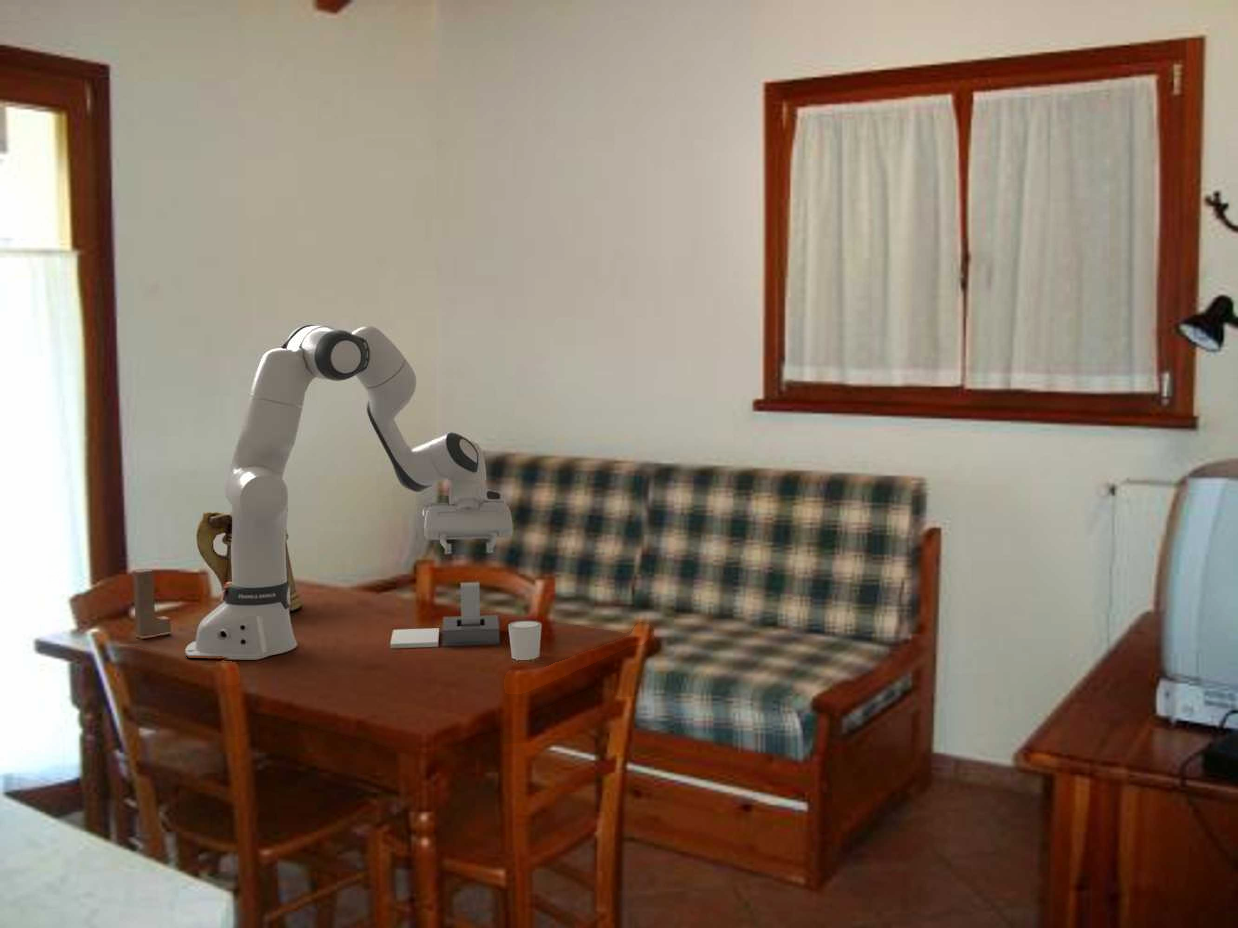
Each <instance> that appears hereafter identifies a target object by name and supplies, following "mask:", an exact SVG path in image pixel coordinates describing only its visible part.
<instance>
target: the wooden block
mask: <svg viewBox="0 0 1238 928" xmlns="http://www.w3.org/2000/svg"><path fill="white" fill-rule="evenodd" d="M153 572H154V571H153V570H152V569H150V568H147V567H146V568H141V569H140V568H139V569H134V570H132V580H133V581H132V582H133V597H134V600H133V601H134V616H135V617H134V619H135V634H136V633H137V634H138V635H139V636H149V635H156V634H160V633H165V632H172V631H171V619H170V617H167V616H165V615H163V616H157V615H156V611H155V609H156V607H155V591H154V587H155V586H154V573H153Z"/></svg>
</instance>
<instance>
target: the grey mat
mask: <svg viewBox="0 0 1238 928" xmlns="http://www.w3.org/2000/svg"><path fill="white" fill-rule="evenodd" d="M391 634H392V635H391V640H390V643H389V644H390V649H407V648H410V649H411V648H413V649H414V648H438V647H439V637H440V628H439V627H438V628H434V627H433V628H407V629H406V628H404V629H393V630H392V633H391Z"/></svg>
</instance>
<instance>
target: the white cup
mask: <svg viewBox="0 0 1238 928" xmlns="http://www.w3.org/2000/svg"><path fill="white" fill-rule="evenodd" d="M507 627H508V634H509V643H510V652H511V659H512V658H513V659H516V660H515V661H517V660H530V659H535V658H537V657H539V658H540V650H541V649H540V648H541V636H542V623H541V622H540V621H535V620H520V621H519V620H517V621H512V622H511V623H508V626H507Z"/></svg>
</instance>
